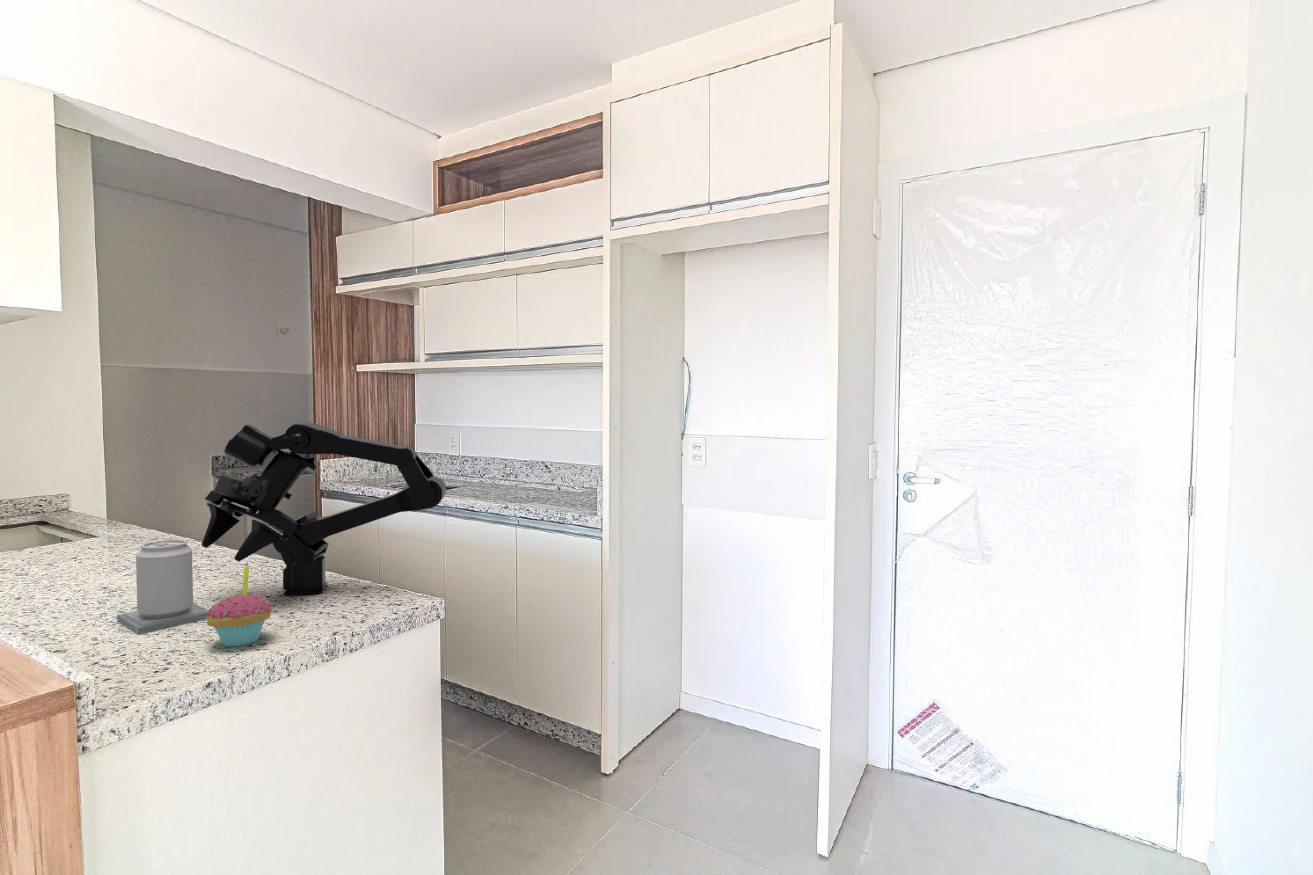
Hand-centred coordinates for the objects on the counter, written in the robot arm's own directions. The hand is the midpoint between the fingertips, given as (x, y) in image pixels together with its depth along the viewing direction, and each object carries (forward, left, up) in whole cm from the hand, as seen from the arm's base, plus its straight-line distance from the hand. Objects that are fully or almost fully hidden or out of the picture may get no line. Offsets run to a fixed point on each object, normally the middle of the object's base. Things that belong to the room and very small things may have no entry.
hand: (219, 553), depth 114 cm
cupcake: (-8, +19, -10) cm, 23 cm away
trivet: (+7, +5, -10) cm, 13 cm away
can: (+6, +5, -9) cm, 12 cm away
